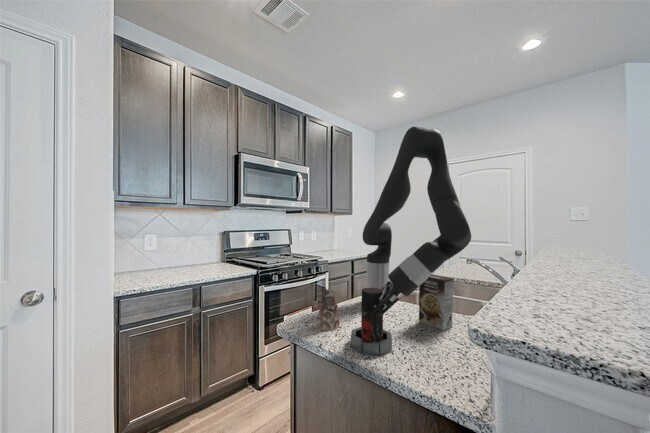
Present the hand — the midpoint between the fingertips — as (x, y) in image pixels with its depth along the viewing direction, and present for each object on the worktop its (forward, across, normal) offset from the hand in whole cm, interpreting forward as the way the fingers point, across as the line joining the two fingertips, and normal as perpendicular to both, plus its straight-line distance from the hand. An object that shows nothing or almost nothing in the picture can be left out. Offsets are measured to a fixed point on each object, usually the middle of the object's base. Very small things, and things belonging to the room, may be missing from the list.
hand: (366, 313), depth 78 cm
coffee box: (-10, -20, +22) cm, 31 cm away
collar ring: (+5, 0, +7) cm, 9 cm away
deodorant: (+5, 0, +7) cm, 9 cm away
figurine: (+15, -11, -3) cm, 19 cm away
